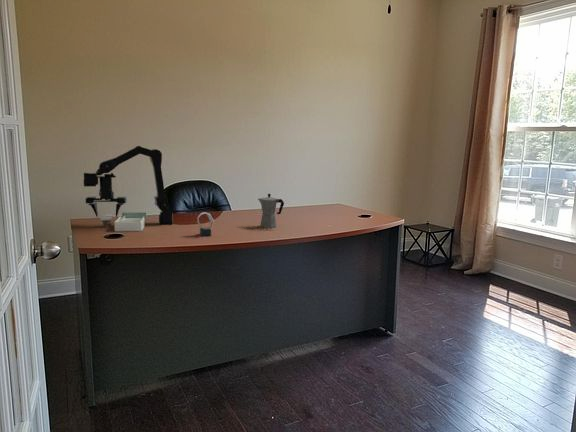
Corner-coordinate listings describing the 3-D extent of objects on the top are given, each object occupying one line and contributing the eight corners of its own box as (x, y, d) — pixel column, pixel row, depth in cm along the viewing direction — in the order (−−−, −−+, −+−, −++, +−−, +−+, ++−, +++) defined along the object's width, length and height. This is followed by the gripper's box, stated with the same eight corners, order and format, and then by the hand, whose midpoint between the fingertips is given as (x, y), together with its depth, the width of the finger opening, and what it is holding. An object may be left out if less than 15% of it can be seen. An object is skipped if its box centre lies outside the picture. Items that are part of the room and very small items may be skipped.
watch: (214, 235, 217) (215, 213, 216) (198, 236, 215) (198, 213, 213) (212, 233, 223) (212, 211, 221) (196, 234, 220) (196, 211, 218)
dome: (114, 218, 234) (113, 214, 233) (112, 220, 228) (111, 216, 228) (101, 218, 232) (101, 214, 232) (99, 220, 227) (99, 216, 226)
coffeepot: (253, 226, 244) (254, 193, 241) (261, 223, 252) (262, 191, 249) (279, 229, 238) (280, 195, 235) (286, 226, 246) (287, 194, 243)
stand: (111, 225, 233) (111, 218, 232) (110, 227, 229) (110, 220, 229) (103, 225, 232) (103, 218, 232) (102, 227, 228) (101, 220, 228)
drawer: (146, 219, 246) (146, 212, 245) (143, 224, 231) (143, 217, 230) (122, 219, 244) (122, 212, 243) (117, 225, 228) (117, 217, 228)
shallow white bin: (144, 225, 237) (144, 216, 237) (141, 231, 222) (141, 222, 221) (119, 225, 235) (119, 216, 234) (114, 231, 219) (114, 222, 219)
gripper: (127, 184, 237) (128, 214, 240) (89, 184, 233) (90, 214, 236) (124, 187, 226) (125, 217, 229) (84, 186, 222) (85, 217, 225)
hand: (106, 216), depth 230 cm, fingers open, 9 cm apart
